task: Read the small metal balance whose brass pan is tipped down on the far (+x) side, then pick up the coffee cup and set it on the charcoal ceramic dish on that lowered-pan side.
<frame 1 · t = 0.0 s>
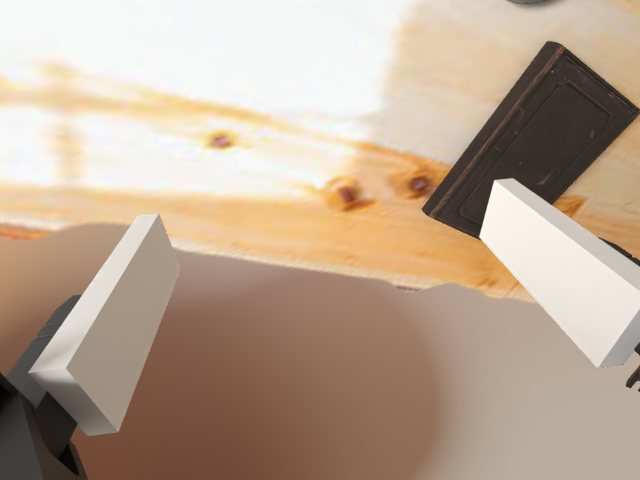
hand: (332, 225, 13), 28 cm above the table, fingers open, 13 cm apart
hardcover book: (516, 159, 45), on the table
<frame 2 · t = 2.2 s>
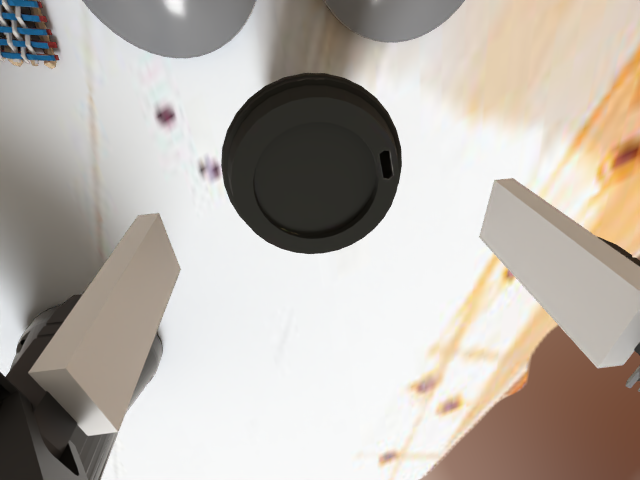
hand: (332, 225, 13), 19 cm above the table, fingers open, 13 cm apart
coffee cup: (299, 113, 29), on the table
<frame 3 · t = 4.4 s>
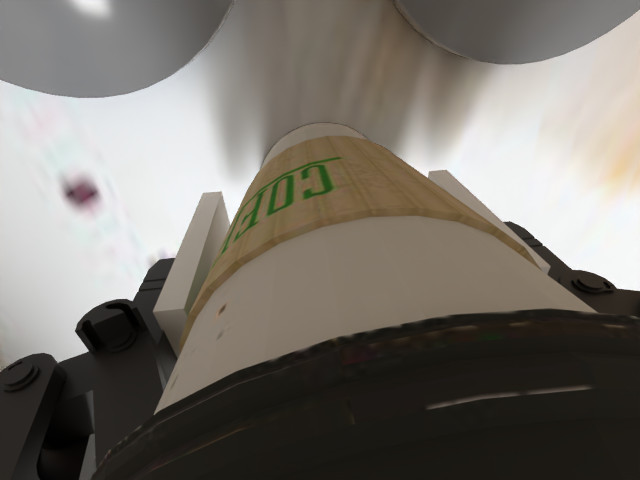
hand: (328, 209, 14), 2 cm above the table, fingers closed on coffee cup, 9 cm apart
coffee cup: (321, 184, 17), on the table, touching gripper
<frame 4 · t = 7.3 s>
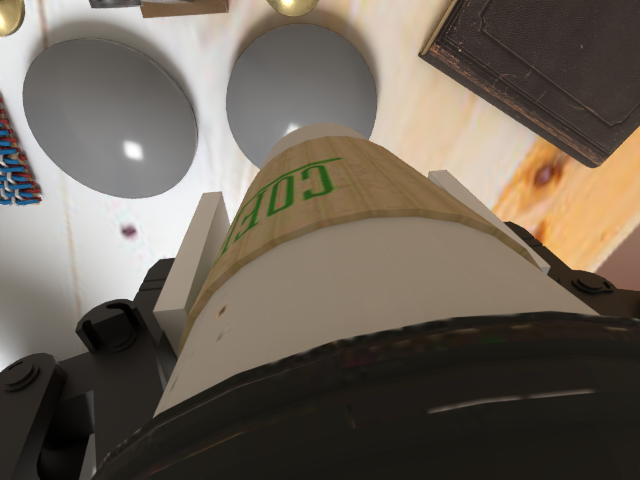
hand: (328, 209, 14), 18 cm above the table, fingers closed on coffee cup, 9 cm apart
grey flat disc: (119, 125, 29), on the table
hardcover book: (570, 29, 29), on the table
coffee cup: (321, 184, 17), point 16 cm above the table, touching gripper
dish low side: (302, 109, 30), on the table
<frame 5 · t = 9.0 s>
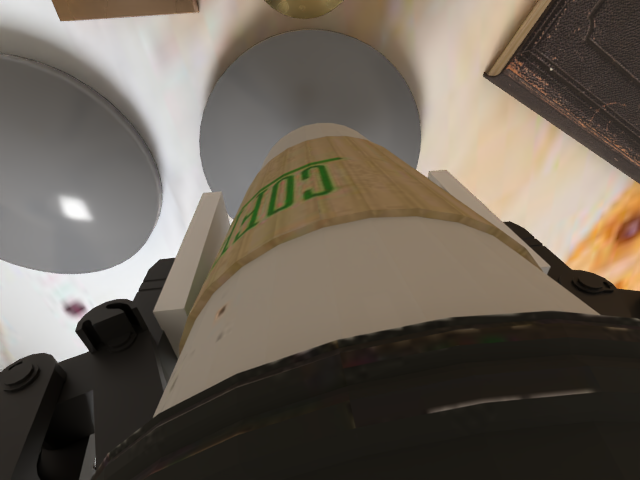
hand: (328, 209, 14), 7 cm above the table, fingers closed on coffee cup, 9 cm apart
grey flat disc: (45, 177, 20), on the table
coffee cup: (321, 184, 17), point 5 cm above the table, touching gripper
dish low side: (311, 152, 21), on the table
when the fingers open (5 cm above the table, at t = 10.5 s): coffee cup drops 1 cm, point 1 cm above the table.
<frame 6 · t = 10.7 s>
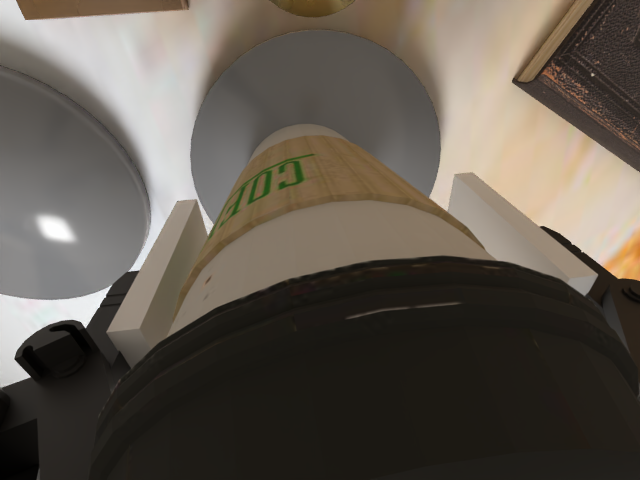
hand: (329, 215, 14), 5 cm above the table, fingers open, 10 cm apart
grey flat disc: (19, 195, 18), on the table
coffee cup: (304, 181, 18), point 1 cm above the table, touching gripper
dish low side: (317, 167, 18), on the table
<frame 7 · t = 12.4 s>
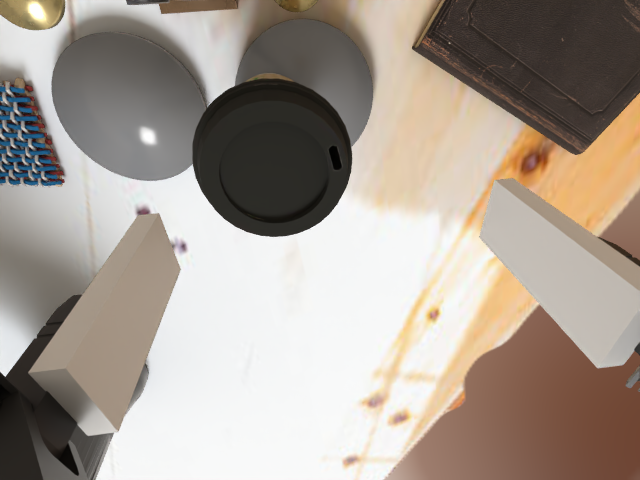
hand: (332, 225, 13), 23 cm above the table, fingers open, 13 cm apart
grey flat disc: (137, 112, 31), on the table
hardcover book: (553, 24, 31), on the table
coffee cup: (271, 108, 31), point 1 cm above the table, touching dish low side
dish low side: (304, 98, 32), on the table
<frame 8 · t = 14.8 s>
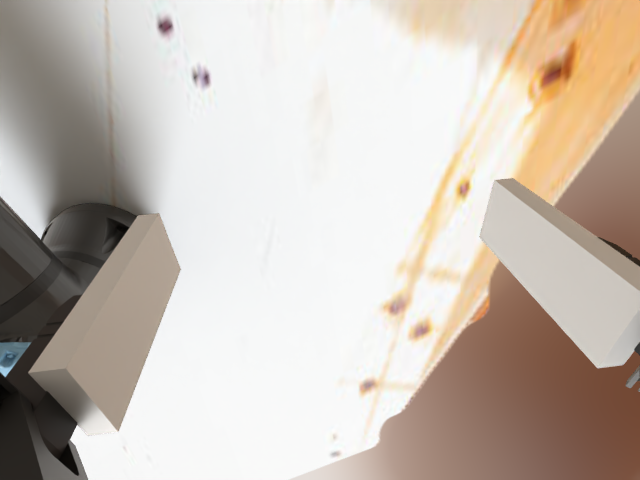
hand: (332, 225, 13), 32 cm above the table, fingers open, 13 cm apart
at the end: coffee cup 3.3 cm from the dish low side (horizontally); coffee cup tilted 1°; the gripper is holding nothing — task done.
